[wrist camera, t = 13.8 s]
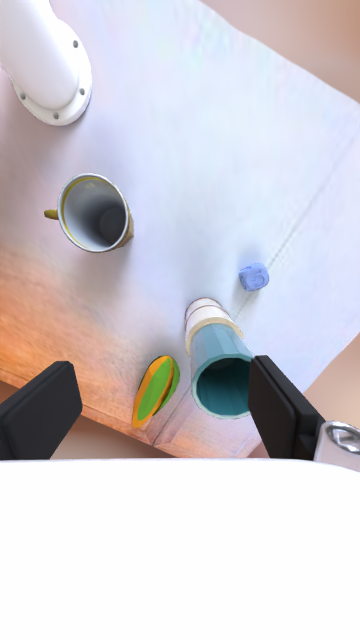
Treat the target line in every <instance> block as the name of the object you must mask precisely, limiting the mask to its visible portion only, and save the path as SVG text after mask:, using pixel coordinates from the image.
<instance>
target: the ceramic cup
mask: <svg viewBox="0 0 360 640" xmlns="http://www.w3.org/2000/svg"><path fill="white" fill-rule="evenodd" d="M44 215H45V217H47V218H50V219H55V220H59V222H60V225H61V227H62V229H63V231H64V233H65V234H66V236H67V237H68V238H69V240H70V241H71V242H72V243H74V244H75V245H76V246H78V247H79V248H81V249H83V250H85V251H88V252H93V253H102V252H108V251H112V250H115V249H117V248H120V247H123V246H125V245H126V244H127V243H128V242H129V241H130V240H131V239H132V238H133V236H134V221H133V218H132V216H131V213H130V210H129V207H128V205H127V202H126V200H125V199H124V197H123V195H122V193H121V192H120V190H119V189H118V188H117V187H116V186H115V185H114V184H113V183H112V182H111V181H110V180H108V179H107V178H105V177H103V176H100V175H97V174H92V173H86V174H80V175H77V176H75V177H73V178H72V179H70V180H69V181H68V182H67V183H66V184H65V186H64V187H63V189H62V190H61V192H60V195H59V199H58V205H57V210H46V211H45V212H44Z"/></svg>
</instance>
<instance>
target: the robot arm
mask: <svg viewBox="0 0 360 640" xmlns="http://www.w3.org/2000/svg"><path fill="white" fill-rule="evenodd" d="M0 66H1V67H2V68H3V69H4V70H5V71H6V72H7V73H8V75H9V76H10V79H11V82H12V85H13V87H14V90H15V92H16V94H17V96H18V97H19V99H20V101H21V102H22V103H23V105H24V106H25V107H26V108H27V109H28V110H29V111H30V112H31V113H32V114H33V115H34V116H35V117H36V118H38V119H39V120H41V121H42V122H45V123H47V124H50V125H54V126H63V125H67V124H70V123H72V122H74V121H75V120H77V119H78V118H79V117H80V116H81V115H82V113H83V112H84V111H85V109H86V107H87V105H88V103H89V99H90V96H91V89H92V73H91V68H90V63H89V60H88V57H87V54H86V52H85V50H84V48H83V46H82V44H81V42H80V40H79V39H78V37H77V35H76V34H75V33H74V32H73V31H72V29H71V28H70V27H69V26H68V25H66V24H65V23H64V22H63V21H61V20H59V19H58V18H56V17H55V15H54V13H53V11H52V9H51V7H50V3H49V1H48V0H0ZM82 407H83V406H82V401H81V397H80V392H79V388H78V384H77V379H76V375H75V370H74V366H73V364H71V363H70V362H69V361H56V362H54V363H53V364H52V365H50V366H49V367H48V368H46V369H45V370H44V371H43V372H41V373H40V374H39V375H37V376H36V377H35V378H34V379H32V380H31V381H30V382H28V383H27V384H26V385H25V386H23V387H22V388H21V389H19V390H18V391H17V392H16V393H15V394H13V395H12V396H10V397H9V398H8V399H7V400H5V401H4V402H3V403H1V404H0V640H360V430H359V429H358V428H356V427H354V426H351V425H349V424H346V423H343V422H337V421H327V422H326V421H325V419H324V418H323V417H322V416H321V415H320V414H319V413H318V412H317V410H316V409H315V408H314V407H313V406H312V405H311V404H310V403H309V402H308V400H307V399H306V398H305V397H304V396H303V395H302V394H301V392H300V391H299V390H298V389H297V388H296V387H295V386H294V385H293V383H291V382H290V380H289V379H288V378H287V377H286V376H285V375H284V374H283V373H282V371H281V370H280V369H279V368H278V367H277V366H276V365H275V364H274V362H273V361H272V360H271V359H270V358H269V357H268V356H267V355H262V356H255V357H254V359H251V363H250V377H249V391H248V408H249V411H250V413H251V416H252V418H253V420H254V423H255V425H256V427H257V429H258V432H259V434H260V436H261V439H262V441H263V443H264V445H265V447H266V450H267V452H268V455H269V457H270V458H144V459H65V460H64V459H63V460H62V459H61V460H49V459H50V458H51V456H52V455H53V453H54V452H55V450H56V449H57V447H58V446H59V444H60V443H61V441H62V440H63V438H64V437H65V436H66V434H67V433H68V431H69V430H70V428H71V427H72V425H73V424H74V422H75V421H76V419H77V418H78V417H79V415H80V414H81V412H82Z"/></svg>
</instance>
